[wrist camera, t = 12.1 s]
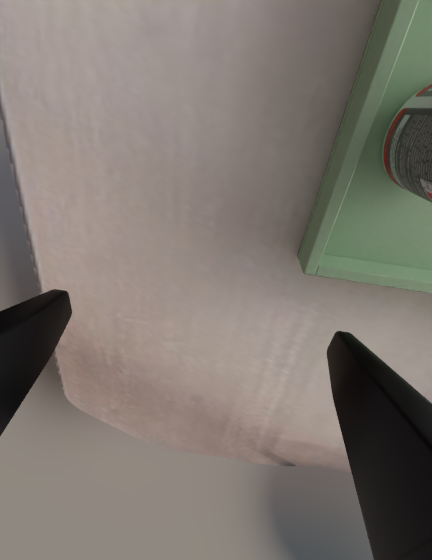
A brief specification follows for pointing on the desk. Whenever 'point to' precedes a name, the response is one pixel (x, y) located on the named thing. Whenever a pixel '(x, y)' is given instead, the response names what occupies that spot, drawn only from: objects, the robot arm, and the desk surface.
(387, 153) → the pill bottle
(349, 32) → the desk surface
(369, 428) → the robot arm
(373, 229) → the tray
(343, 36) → the desk surface
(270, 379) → the desk surface
